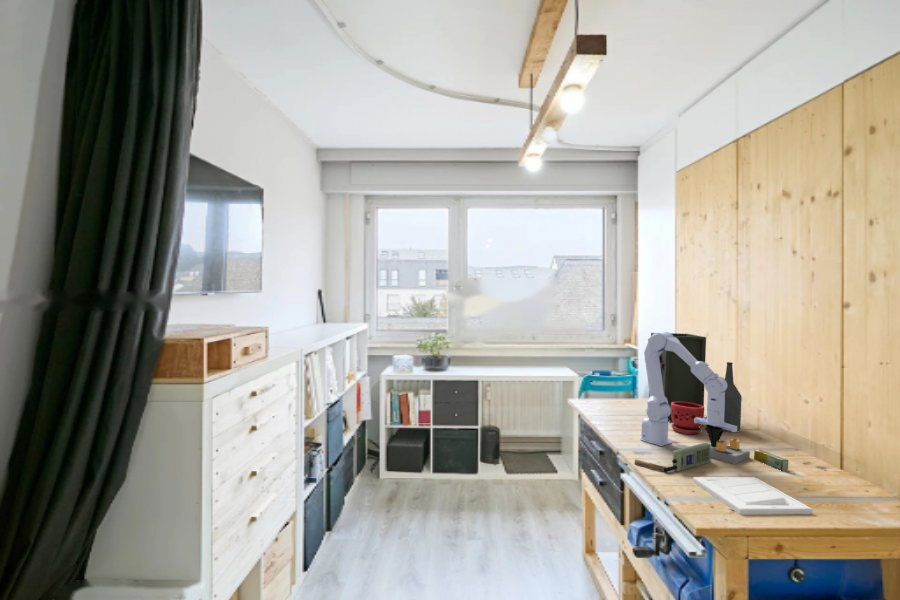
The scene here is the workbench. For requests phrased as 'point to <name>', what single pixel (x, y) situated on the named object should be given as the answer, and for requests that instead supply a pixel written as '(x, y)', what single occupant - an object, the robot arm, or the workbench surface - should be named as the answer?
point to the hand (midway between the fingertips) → (714, 446)
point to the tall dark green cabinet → (683, 372)
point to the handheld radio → (690, 457)
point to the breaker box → (730, 455)
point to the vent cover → (751, 496)
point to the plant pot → (686, 417)
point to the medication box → (771, 460)
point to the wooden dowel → (650, 465)
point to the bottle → (732, 400)
